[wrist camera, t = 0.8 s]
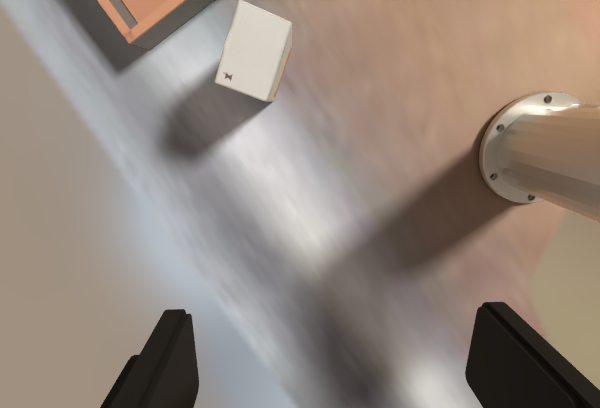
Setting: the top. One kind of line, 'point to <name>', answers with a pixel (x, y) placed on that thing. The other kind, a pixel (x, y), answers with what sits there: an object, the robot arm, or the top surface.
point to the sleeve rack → (150, 18)
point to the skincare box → (255, 52)
